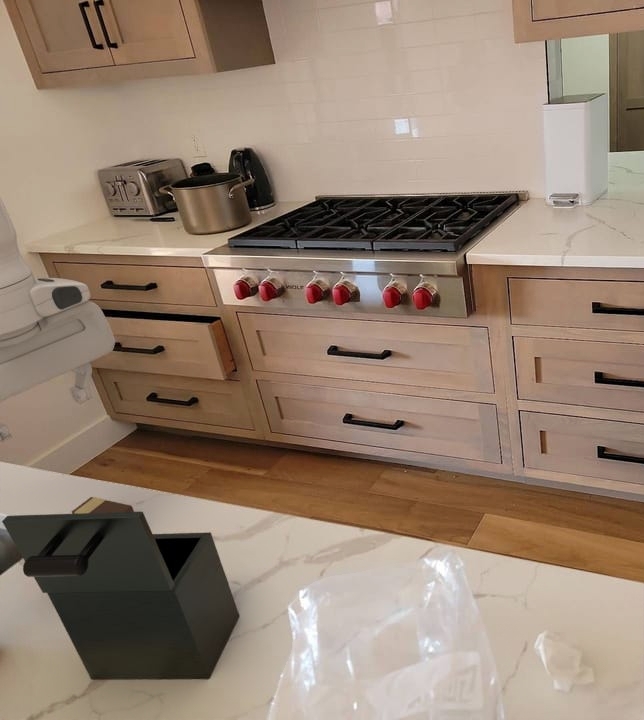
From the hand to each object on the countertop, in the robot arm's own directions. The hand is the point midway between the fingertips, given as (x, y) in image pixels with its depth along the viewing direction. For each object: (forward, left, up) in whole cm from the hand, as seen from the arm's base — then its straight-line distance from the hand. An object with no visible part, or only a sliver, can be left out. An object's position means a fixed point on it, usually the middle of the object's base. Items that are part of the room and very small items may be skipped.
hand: (44, 419), depth 78 cm
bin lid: (-4, -20, -6) cm, 22 cm away
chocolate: (+4, +11, -24) cm, 27 cm away
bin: (-1, -18, -24) cm, 30 cm away
